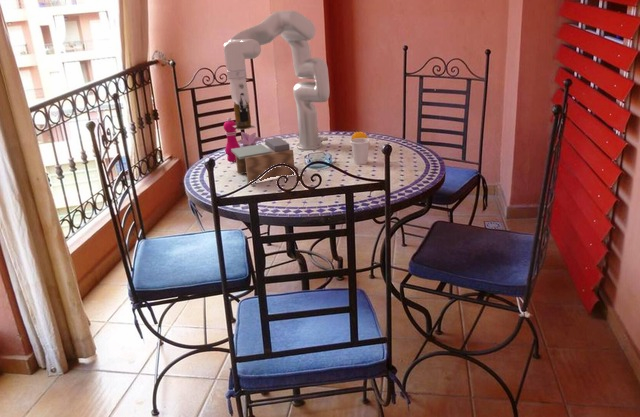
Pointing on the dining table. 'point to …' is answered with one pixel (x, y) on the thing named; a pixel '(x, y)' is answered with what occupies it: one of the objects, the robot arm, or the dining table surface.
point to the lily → (249, 139)
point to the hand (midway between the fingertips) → (242, 119)
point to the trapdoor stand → (266, 165)
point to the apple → (359, 135)
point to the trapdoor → (262, 148)
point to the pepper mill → (230, 139)
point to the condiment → (237, 117)
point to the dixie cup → (360, 150)
